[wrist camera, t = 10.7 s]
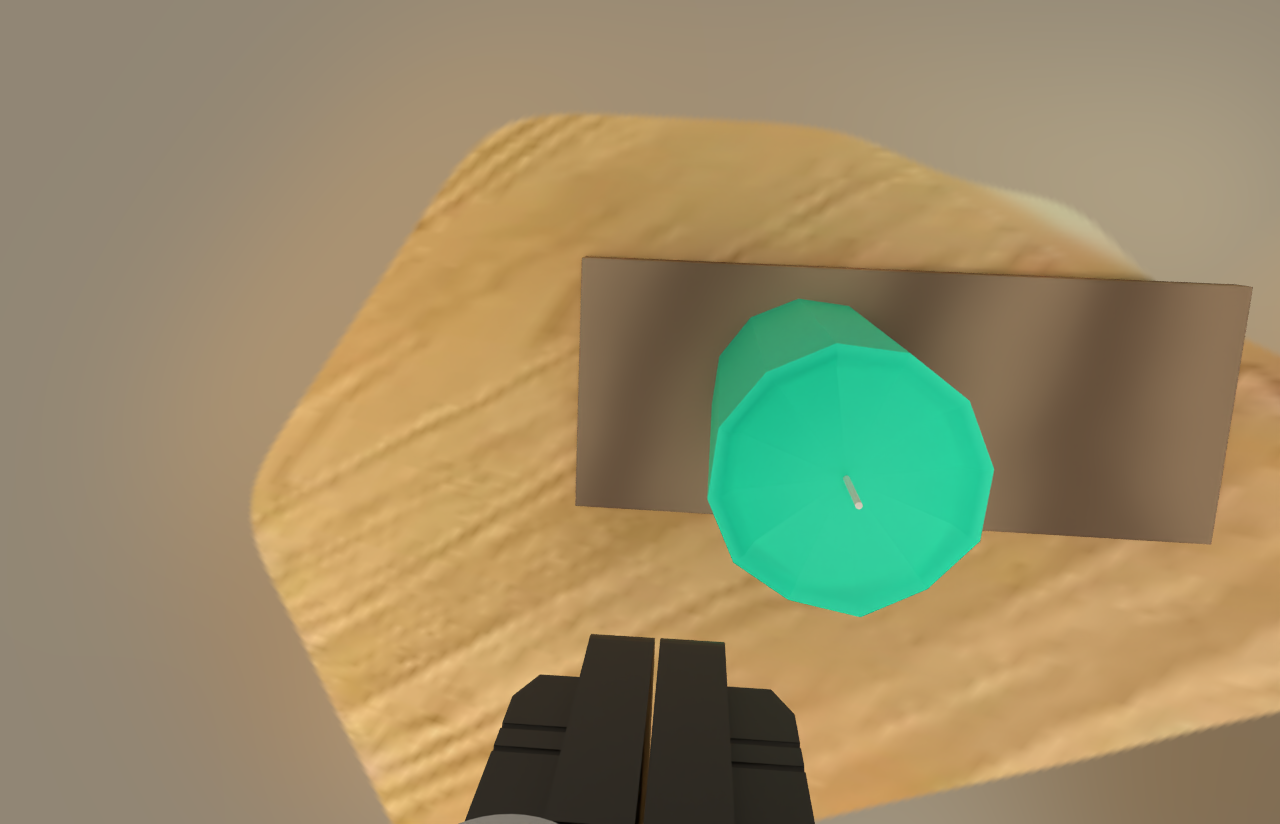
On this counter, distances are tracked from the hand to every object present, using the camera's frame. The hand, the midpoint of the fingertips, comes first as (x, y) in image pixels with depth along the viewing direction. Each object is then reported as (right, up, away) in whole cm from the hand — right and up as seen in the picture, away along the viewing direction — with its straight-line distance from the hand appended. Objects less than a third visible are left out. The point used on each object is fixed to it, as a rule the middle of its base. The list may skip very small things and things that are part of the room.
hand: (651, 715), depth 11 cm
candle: (+5, +4, +20) cm, 21 cm away
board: (+8, +4, +21) cm, 23 cm away
